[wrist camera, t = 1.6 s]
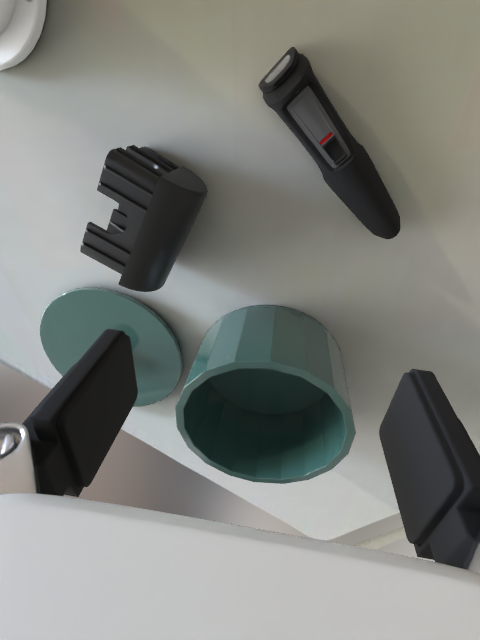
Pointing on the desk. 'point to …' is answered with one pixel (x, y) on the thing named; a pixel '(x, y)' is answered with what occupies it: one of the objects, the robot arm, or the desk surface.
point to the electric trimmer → (329, 142)
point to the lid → (119, 314)
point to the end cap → (144, 216)
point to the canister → (267, 397)
